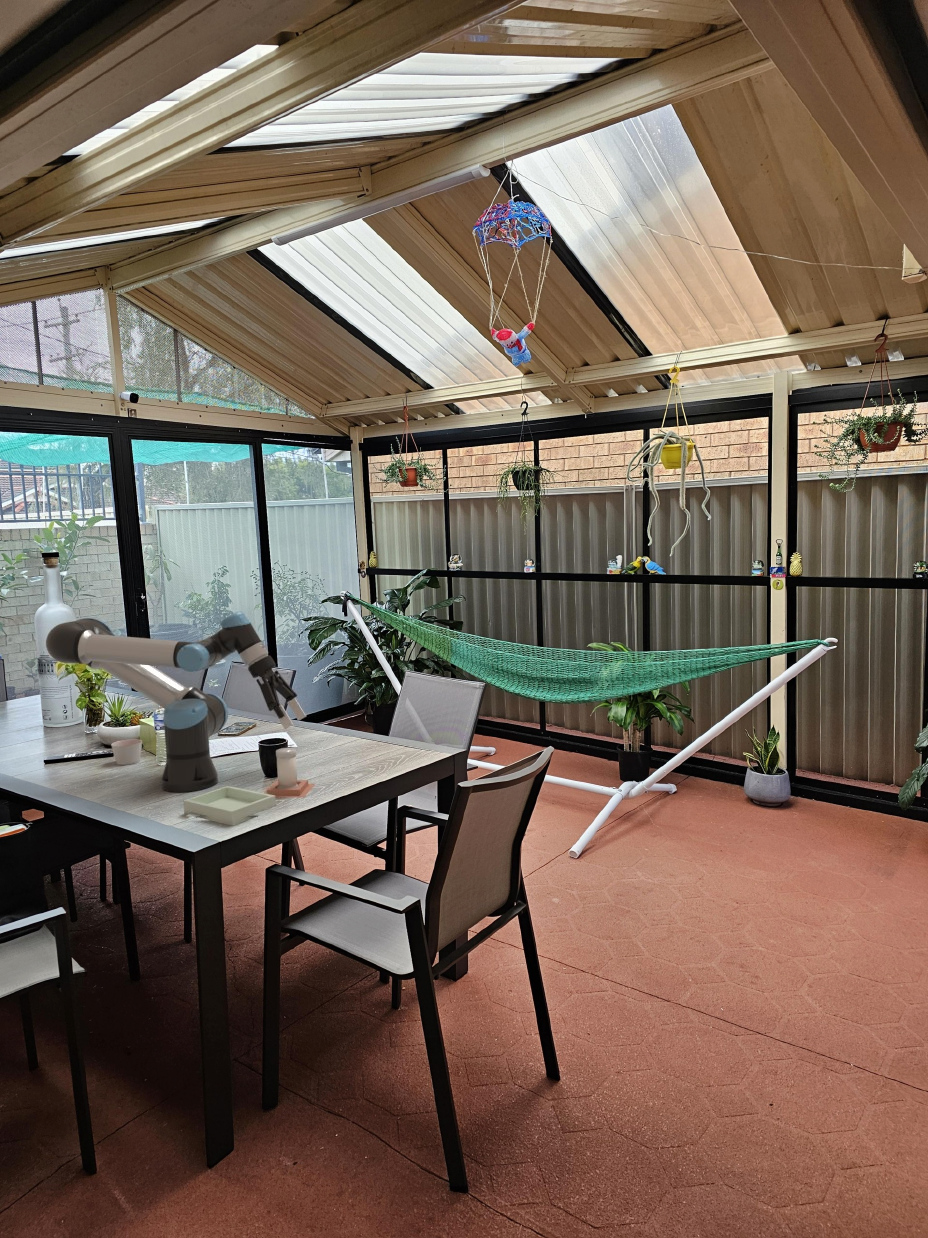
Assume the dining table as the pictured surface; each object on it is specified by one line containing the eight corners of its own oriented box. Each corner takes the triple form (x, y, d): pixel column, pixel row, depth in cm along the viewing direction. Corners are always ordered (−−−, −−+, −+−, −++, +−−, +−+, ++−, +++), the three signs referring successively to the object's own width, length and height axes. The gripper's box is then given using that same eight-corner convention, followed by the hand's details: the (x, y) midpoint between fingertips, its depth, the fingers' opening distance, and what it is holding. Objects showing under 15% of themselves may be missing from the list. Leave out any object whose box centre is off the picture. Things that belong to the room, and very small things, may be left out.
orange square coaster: (259, 801, 219) (259, 792, 219) (272, 787, 231) (272, 778, 231) (304, 800, 218) (304, 791, 218) (315, 787, 230) (315, 778, 230)
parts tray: (184, 814, 211) (183, 800, 210) (228, 798, 222) (227, 785, 222) (232, 825, 201) (232, 811, 201) (276, 809, 212) (275, 795, 212)
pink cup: (148, 758, 268) (146, 739, 267) (136, 766, 259) (134, 746, 258) (120, 759, 268) (119, 739, 268) (107, 766, 259) (106, 746, 259)
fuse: (275, 793, 222) (273, 753, 221) (281, 787, 227) (279, 748, 226) (295, 793, 222) (292, 752, 221) (300, 787, 227) (298, 747, 226)
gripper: (254, 658, 233) (294, 724, 233) (281, 650, 257) (317, 709, 258) (232, 672, 233) (272, 737, 233) (261, 662, 258) (297, 721, 258)
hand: (296, 722), depth 246 cm, fingers open, 13 cm apart
